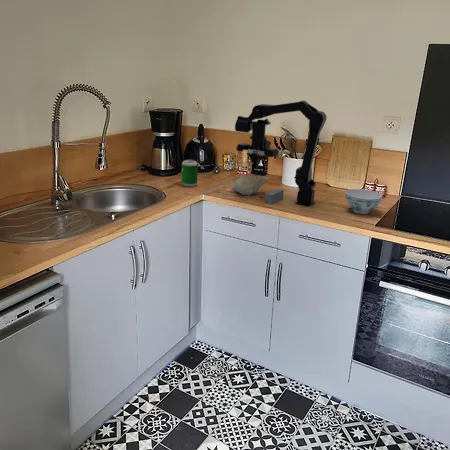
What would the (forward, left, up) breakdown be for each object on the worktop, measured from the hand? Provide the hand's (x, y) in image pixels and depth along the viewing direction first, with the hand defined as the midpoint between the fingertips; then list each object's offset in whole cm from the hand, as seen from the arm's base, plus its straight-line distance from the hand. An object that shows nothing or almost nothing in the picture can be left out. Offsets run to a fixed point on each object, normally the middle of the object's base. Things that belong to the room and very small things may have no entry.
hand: (255, 168), depth 206 cm
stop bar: (-11, +1, -12) cm, 17 cm away
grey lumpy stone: (+3, -2, -13) cm, 13 cm away
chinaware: (-47, -11, -13) cm, 49 cm away
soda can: (+32, +7, -13) cm, 35 cm away
